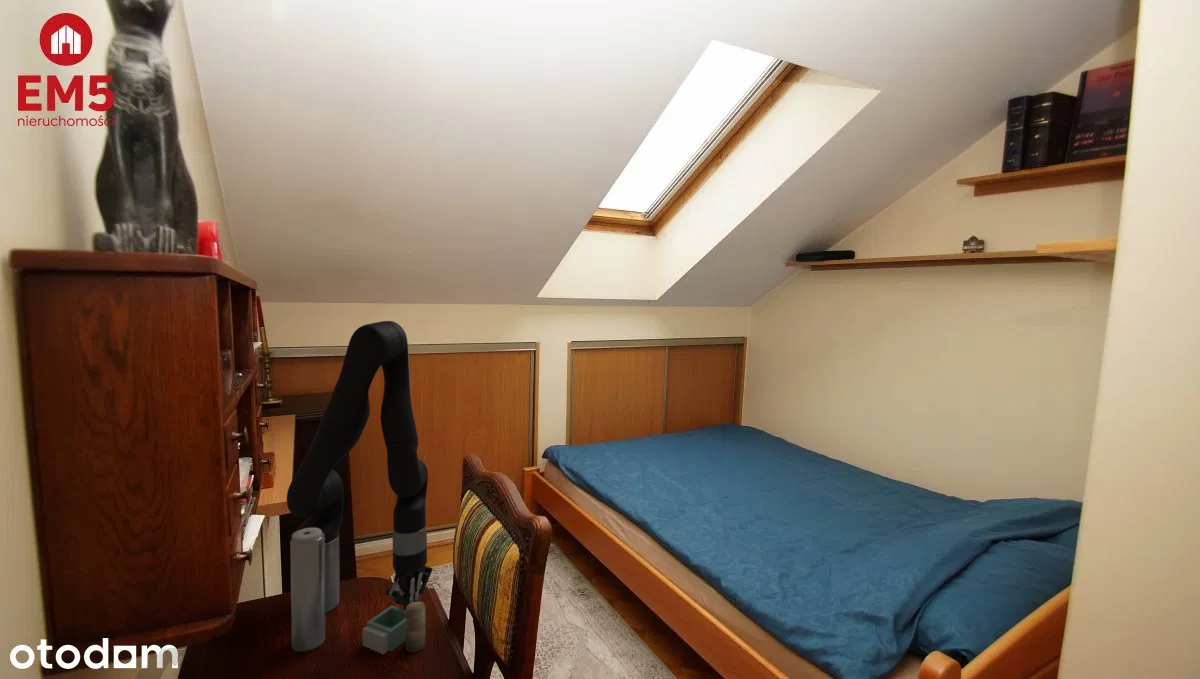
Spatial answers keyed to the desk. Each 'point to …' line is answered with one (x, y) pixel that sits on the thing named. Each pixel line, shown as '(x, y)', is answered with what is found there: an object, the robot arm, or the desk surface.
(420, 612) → the dowel
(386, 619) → the grey-green open box
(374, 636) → the grey flat slab
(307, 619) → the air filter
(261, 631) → the desk surface
